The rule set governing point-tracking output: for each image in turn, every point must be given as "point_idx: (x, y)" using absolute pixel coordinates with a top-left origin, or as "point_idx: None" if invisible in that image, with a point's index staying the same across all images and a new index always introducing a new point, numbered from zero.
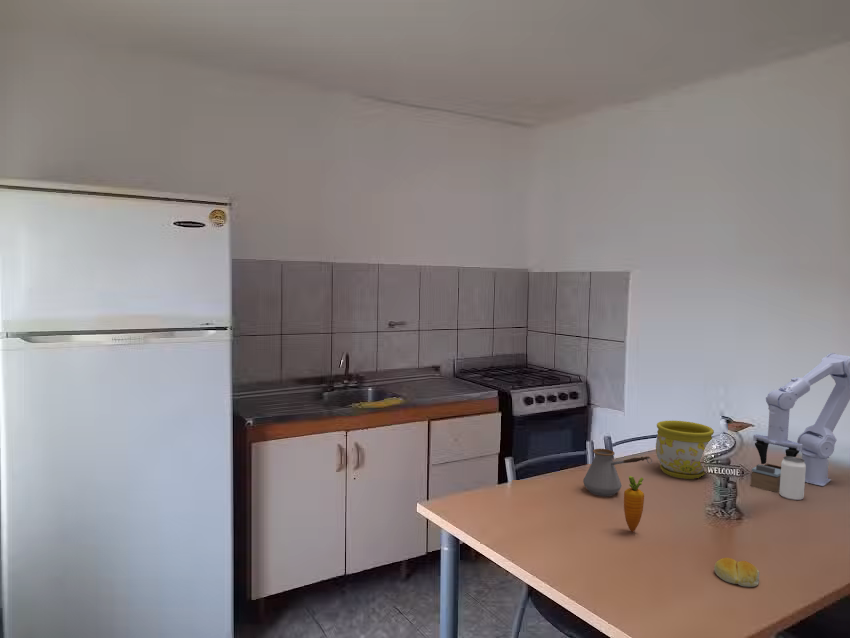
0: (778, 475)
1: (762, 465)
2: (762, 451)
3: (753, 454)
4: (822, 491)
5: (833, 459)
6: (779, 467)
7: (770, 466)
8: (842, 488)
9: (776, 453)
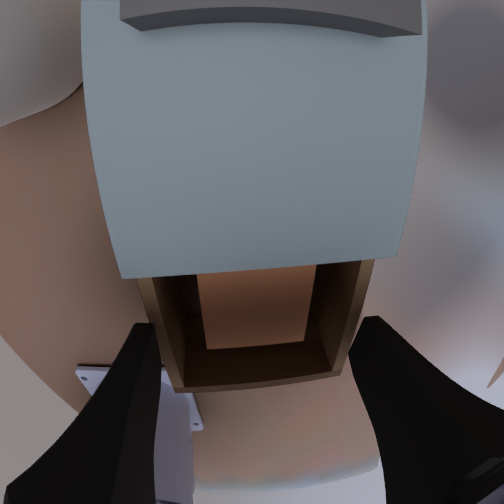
0: (86, 21)
1: (354, 9)
2: (435, 410)
3: None
4: (31, 308)
5: (219, 492)
6: (253, 376)
7: (312, 363)
8: (48, 386)
9: (326, 465)
